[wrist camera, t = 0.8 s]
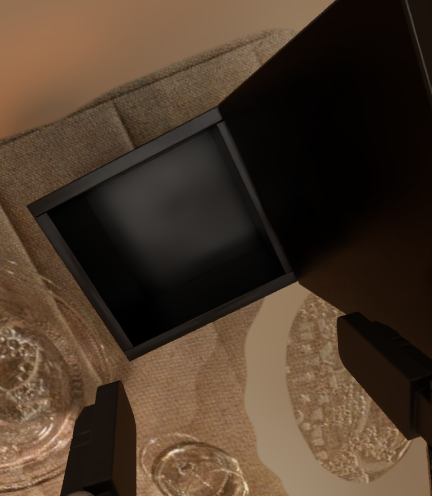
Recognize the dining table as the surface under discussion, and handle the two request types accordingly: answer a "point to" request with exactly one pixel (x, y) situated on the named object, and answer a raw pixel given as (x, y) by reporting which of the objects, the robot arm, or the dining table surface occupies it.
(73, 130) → the dining table surface
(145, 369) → the dining table surface
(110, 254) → the hinged lid box
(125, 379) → the dining table surface
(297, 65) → the black square slab
